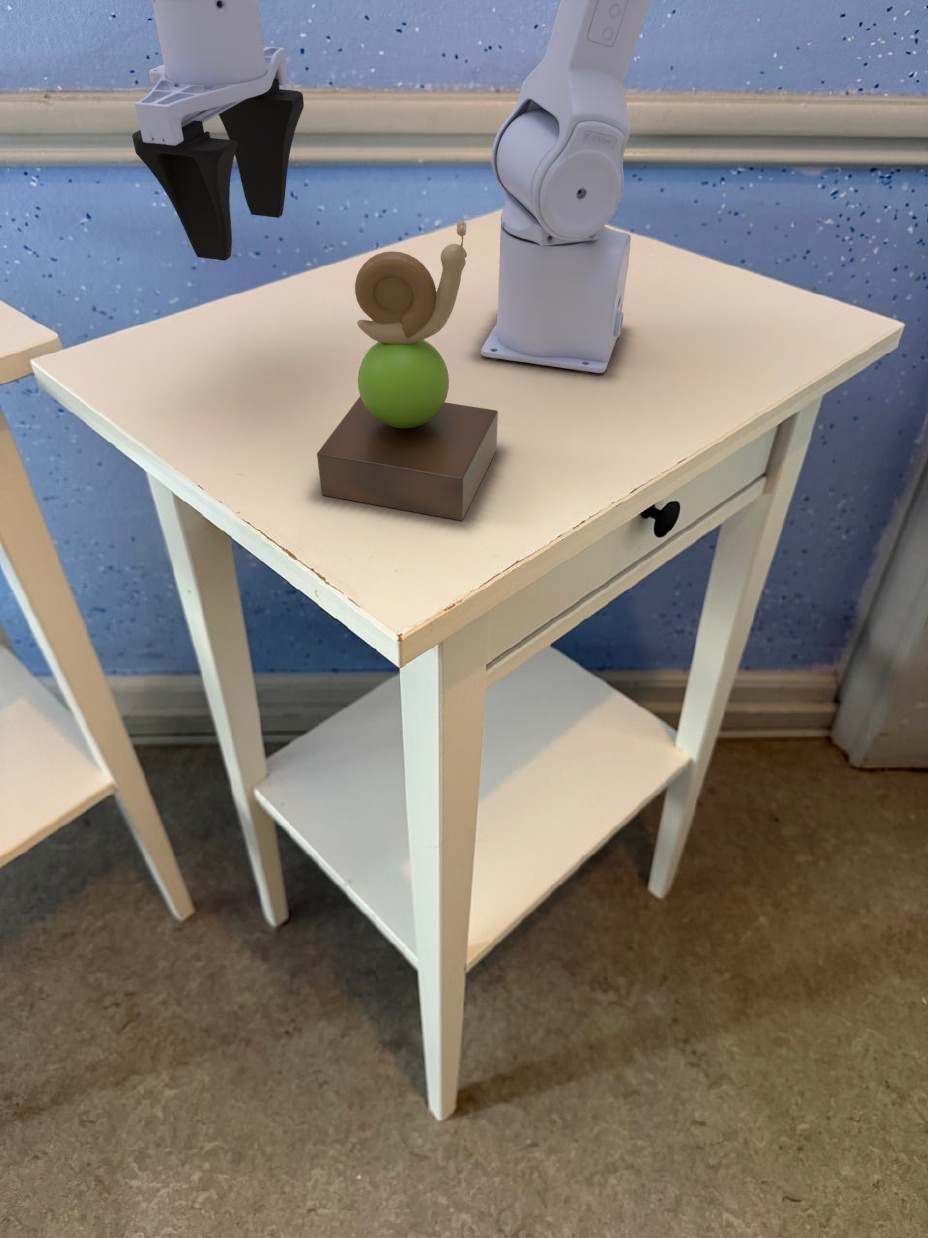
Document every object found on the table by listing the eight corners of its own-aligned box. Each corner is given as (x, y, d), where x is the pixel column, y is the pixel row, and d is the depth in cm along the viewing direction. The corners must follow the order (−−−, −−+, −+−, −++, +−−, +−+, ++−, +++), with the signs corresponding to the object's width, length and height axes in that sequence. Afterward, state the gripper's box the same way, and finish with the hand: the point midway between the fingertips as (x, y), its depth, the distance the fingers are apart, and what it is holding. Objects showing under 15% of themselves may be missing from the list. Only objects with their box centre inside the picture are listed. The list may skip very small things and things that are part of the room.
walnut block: (496, 450, 59) (498, 409, 57) (462, 521, 54) (462, 478, 52) (367, 429, 61) (364, 389, 59) (321, 495, 56) (316, 453, 54)
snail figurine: (464, 446, 54) (466, 242, 46) (356, 444, 54) (339, 240, 46) (465, 400, 58) (467, 205, 50) (365, 399, 58) (351, 203, 50)
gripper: (200, -43, 55) (236, 192, 65) (59, -2, 45) (126, 269, 55) (307, -36, 54) (328, 202, 63) (186, 7, 44) (233, 284, 53)
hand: (241, 234), depth 59 cm, fingers open, 7 cm apart
